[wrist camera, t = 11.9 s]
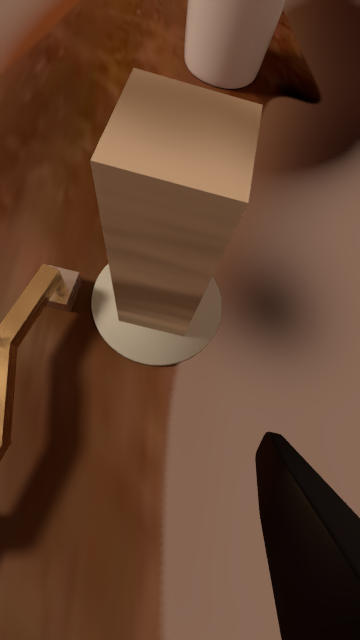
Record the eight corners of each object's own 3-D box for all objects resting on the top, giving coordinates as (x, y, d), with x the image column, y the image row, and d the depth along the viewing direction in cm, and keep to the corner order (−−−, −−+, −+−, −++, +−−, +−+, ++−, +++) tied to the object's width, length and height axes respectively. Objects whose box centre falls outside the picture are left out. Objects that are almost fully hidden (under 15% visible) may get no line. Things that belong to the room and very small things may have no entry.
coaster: (209, 379, 18) (211, 378, 18) (73, 347, 18) (71, 346, 18) (228, 265, 22) (230, 262, 22) (114, 236, 21) (113, 232, 21)
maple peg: (183, 336, 19) (248, 202, 8) (118, 320, 19) (90, 159, 8) (195, 280, 21) (262, 105, 9) (135, 265, 20) (133, 68, 9)
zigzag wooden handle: (-25, 574, 14) (-67, 612, 11) (-83, 563, 13) (-140, 599, 11) (87, 282, 20) (79, 258, 17) (49, 273, 20) (34, 247, 17)
